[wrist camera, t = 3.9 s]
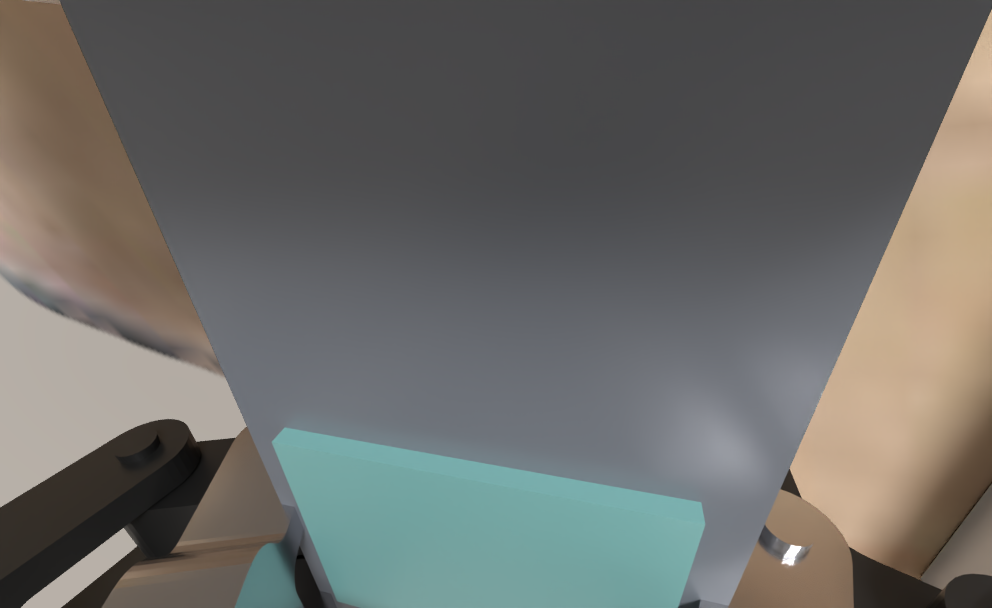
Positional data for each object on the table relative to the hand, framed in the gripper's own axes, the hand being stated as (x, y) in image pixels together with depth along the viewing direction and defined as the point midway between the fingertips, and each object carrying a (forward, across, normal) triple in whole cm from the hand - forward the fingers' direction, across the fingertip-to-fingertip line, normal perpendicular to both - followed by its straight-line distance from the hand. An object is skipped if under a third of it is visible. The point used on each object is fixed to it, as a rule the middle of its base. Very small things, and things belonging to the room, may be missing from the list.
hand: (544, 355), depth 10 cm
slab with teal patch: (+1, 0, -4) cm, 4 cm away
